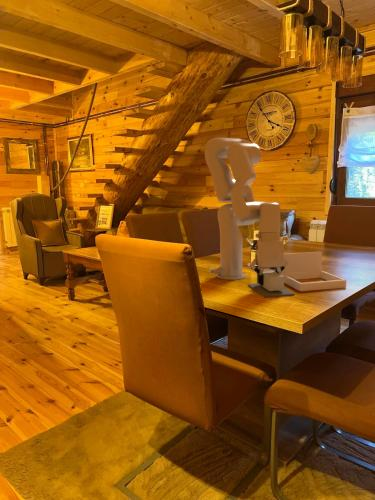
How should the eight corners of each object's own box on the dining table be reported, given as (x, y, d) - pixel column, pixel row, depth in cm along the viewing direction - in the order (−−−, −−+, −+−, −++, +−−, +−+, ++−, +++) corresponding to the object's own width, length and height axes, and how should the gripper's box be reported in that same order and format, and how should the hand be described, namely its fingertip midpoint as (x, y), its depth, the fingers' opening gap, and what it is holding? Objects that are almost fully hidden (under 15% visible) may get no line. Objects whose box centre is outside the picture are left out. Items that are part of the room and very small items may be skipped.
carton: (300, 291, 136) (301, 262, 135) (279, 280, 153) (280, 254, 152) (346, 287, 140) (347, 259, 138) (320, 277, 157) (321, 251, 155)
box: (269, 291, 133) (269, 277, 132) (256, 282, 144) (257, 270, 144) (283, 290, 134) (284, 276, 133) (270, 281, 145) (270, 269, 145)
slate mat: (265, 297, 130) (265, 295, 130) (248, 285, 146) (248, 284, 146) (294, 295, 132) (294, 293, 132) (274, 283, 149) (274, 282, 148)
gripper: (251, 238, 132) (250, 288, 135) (295, 236, 135) (294, 284, 138) (243, 236, 139) (243, 283, 142) (286, 234, 142) (285, 280, 145)
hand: (268, 283), depth 140 cm, fingers closed on box, 5 cm apart
